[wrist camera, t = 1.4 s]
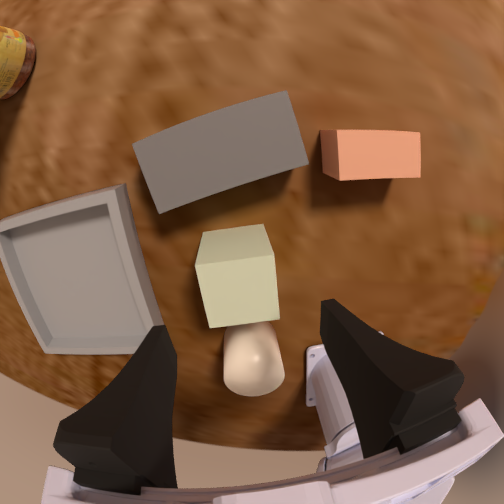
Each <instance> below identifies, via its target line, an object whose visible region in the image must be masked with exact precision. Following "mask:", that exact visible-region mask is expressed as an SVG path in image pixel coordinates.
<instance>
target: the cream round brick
mask: <svg viewBox="0 0 504 504" xmlns="http://www.w3.org/2000/svg"><path fill="white" fill-rule="evenodd" d="M284 375H285V374H284V369H283V364H282V360H281V355H280V351H279V346H278V341H277V337H276V332H275V329H274V327H273V326H272V325H271V324H270V323H269V322H268V321H263V322H255V323H248V324H240V325H233V326H228V327H227V329H226V331H225V333H224V382H225V384H226V386H227V387H228V388H229V389H230V390H231V391H233V392H234V393H236V394H239V395H243V396H260V395H265V394H267V393H270V392H272V391H274V390H275V389H277V388H278V387H279V386H280V385H281V383H282V382H283V380H284Z"/></svg>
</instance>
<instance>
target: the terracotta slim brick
mask: <svg viewBox="0 0 504 504" xmlns="http://www.w3.org/2000/svg"><path fill="white" fill-rule="evenodd" d="M320 138H321V151H322V167H323V173H324V174H327V175H329V176H331V177H333V178H335V179H337V180H339V181H342V180H359V179H379V178H409V177H420V169H421V156H420V133H419V132H406V131H390V130H320Z"/></svg>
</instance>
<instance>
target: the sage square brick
mask: <svg viewBox="0 0 504 504" xmlns="http://www.w3.org/2000/svg"><path fill="white" fill-rule="evenodd" d="M195 268H196V273H197V277H198V281H199V286H200V290H201V294H202V299H203V303H204V307H205V311H206V315H207V319H208V323H209V327H210V328H216V327H224V326H233V325H240V324H248V323H255V322H263V321H270V320H276V319H280V316H279V304H278V292H277V281H276V270H275V259H274V253H273V250H272V247H271V244H270V242H269V239H268V236H267V233H266V230H265V228H264V225H263V224H259V225H251V226H244V227H236V228H229V229H222V230H215V231H208V232H203V234H202V238H201V242H200V247H199V251H198V255H197V259H196V263H195Z"/></svg>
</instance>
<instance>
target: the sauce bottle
mask: <svg viewBox="0 0 504 504" xmlns="http://www.w3.org/2000/svg"><path fill="white" fill-rule="evenodd" d="M35 54H36V48H35V44H34V42H33V40H32V39H31V38H30V37H28V36H27V35H24V34H22V33H21V32H20V31H17V30H13V29H10V28H6V27H2V26H0V99H7V98H9V97H11V96H13V95H14V94H15V93H16V92H17V91H18V90H19V89H20V88H21V87H22V86H23V85H24V83H25V82H26V81H27V78H28V77H29V75H30V74H31V71H32V68H33V65H34V60H35Z"/></svg>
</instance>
